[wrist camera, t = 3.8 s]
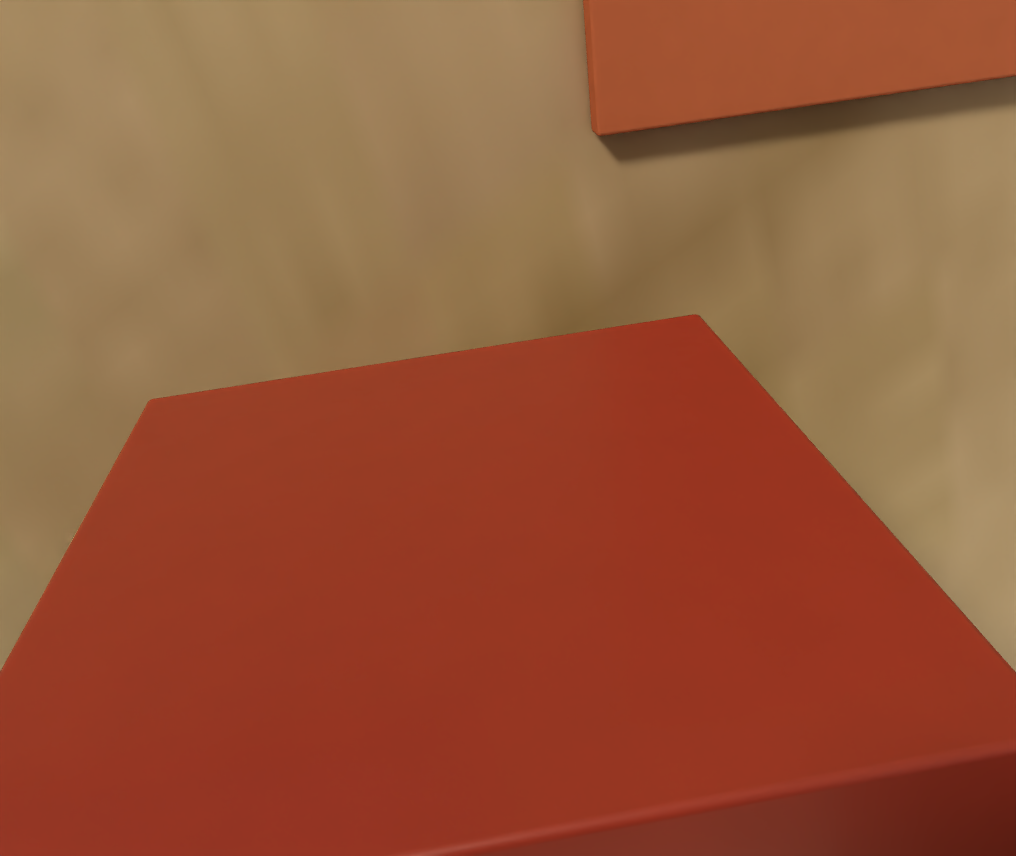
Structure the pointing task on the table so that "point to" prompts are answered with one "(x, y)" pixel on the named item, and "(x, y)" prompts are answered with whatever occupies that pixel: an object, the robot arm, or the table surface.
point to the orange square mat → (781, 54)
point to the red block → (499, 628)
